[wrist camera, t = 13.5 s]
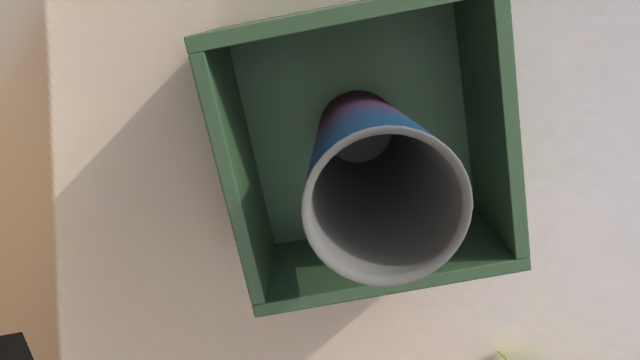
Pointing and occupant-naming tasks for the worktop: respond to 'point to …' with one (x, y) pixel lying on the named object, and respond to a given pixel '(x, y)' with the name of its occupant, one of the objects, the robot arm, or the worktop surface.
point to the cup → (382, 194)
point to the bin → (391, 85)
